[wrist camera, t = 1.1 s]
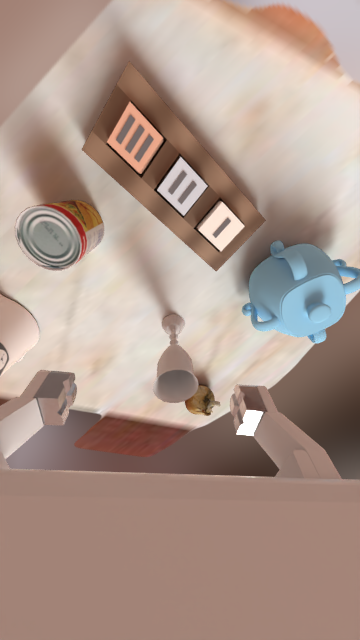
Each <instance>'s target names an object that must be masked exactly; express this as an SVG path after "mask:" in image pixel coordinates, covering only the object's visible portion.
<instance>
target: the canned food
mask: <svg viewBox="0 0 360 640" xmlns="http://www.w3.org/2000/svg"><path fill="white" fill-rule="evenodd" d="M103 235H104V225H103V221H102V219H101V217H100V215H99V214H98V212H97V211H96V210H95V209H94V208H93V207H92V206H91V205H89V204H87V203H86V202H83V201H79V200H70V201H64V202H57V203H50V204H43V205H37V206H33V207H29V208H27V209H25V210H24V211H23V212H21V213H20V215H19V216H18V218H17V220H16V224H15V236H16V239H17V242H18V245H19V246H20V248H21V250H22V251H23V253H24V254H25V255H26V256H27V257H28V258H29V259H30V260H31V261H32V262H34V263H35V264H37V265H38V266H40V267H43V268H45V269H49V270H53V271H62V270H65V269H69V268H70V267H72V266H73V265H75V264H76V263H77V262H78V261H79V260H81V259H82V258H83V257H84V256H85V255H86V254H88V253H89V252H90V251H91V250H92V249H94V248H95V247H96V246H97V245H98V244H99V243H100V242H101V240H102V238H103Z"/></svg>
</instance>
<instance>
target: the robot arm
mask: <svg viewBox="0 0 360 640" xmlns="http://www.w3.org/2000/svg"><path fill="white" fill-rule="evenodd" d="M38 340H39V328H38V325H37V323H36V321H35V319H34V318H33V316H32V315H31V314H30V313H29V312H28V311H27V310H26V309H25V308H24V307H22V306H21V305H19V304H18V303H16V302H14V301H12V300H10V299H8V298H6V297H4V296H2V295H1V294H0V376H1V375H2V374H3V373H4V372H5V371H7V370H8V369H9V368H10V367H11V366H12V365H13V364H14V363H15V362H20V361H21V360H22V359H23V358H24V356H25V354H26V352H27V351H29V350H30V349H31V348H33V347H34V346H35V345H36V344H37V342H38ZM74 380H75V374H74V373H69V372H59V371H46V370H40V371H39V372H37V374H36V375H35V377H34V378H33V379H32V381H31V382H30V383H29V385H28V386H27V388H26V389H25V390H24V392H23V393H22V395H21V396H20V397H15V398H13V399H12V400H10V401H8V402H7V403H5V404H3V405H1V406H0V640H360V480H350V479H341V477H340V475H339V474H338V472H337V470H336V468H335V467H334V465H333V463H332V461H331V460H330V458H329V456H328V455H327V453H326V451H325V450H324V449H323V448H322V447H321V446H319V445H318V444H317V443H316V442H315V441H314V440H312V439H311V438H310V437H309V436H308V435H306V434H305V433H304V432H303V431H302V430H300V429H299V428H298V427H297V426H296V425H295V424H293V423H292V422H291V421H290V420H288V418H286V417H285V416H284V415H283V414H282V413H278V411H277V409H276V407H275V405H274V403H273V401H272V398H271V396H270V395H269V392H268V390H267V388H266V387H265V386H253V385H236V386H235V388H234V392H235V393H234V394H233V395H232V396H231V399H230V410H231V414H232V415H233V416H234V417H235V419H234V426H235V429H236V433H237V434H244V435H253V437H254V438H255V439H256V440H257V442H258V443H259V444H260V445H261V446H262V448H263V449H264V450H265V451H266V452H267V454H268V455H269V456H270V457H271V459H272V460H273V461H274V463H275V464H276V465H277V466H278V468H279V469H280V471H279V472H278V474H277V475H276V476H275V477H254V476H250V477H249V476H222V475H191V474H158V473H125V472H122V473H121V472H93V471H92V472H91V471H62V470H30V469H28V470H27V469H10V468H9V466H8V464H7V462H6V460H5V459H6V458H7V457H9V456H10V455H11V454H12V453H13V452H14V451H16V449H18V448H19V447H20V446H21V445H22V444H24V443H25V442H26V441H27V440H28V439H29V438H31V437H32V436H33V435H34V434H35V433H36V432H37V431H39V430H40V429H41V428H42V427H43V426H44V425H64V423H65V420H66V418H67V416H68V414H69V409H68V408H69V407H70V406H71V405H73V403H74V400H75V397H76V392H77V387H76V384H75V383H74Z"/></svg>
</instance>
